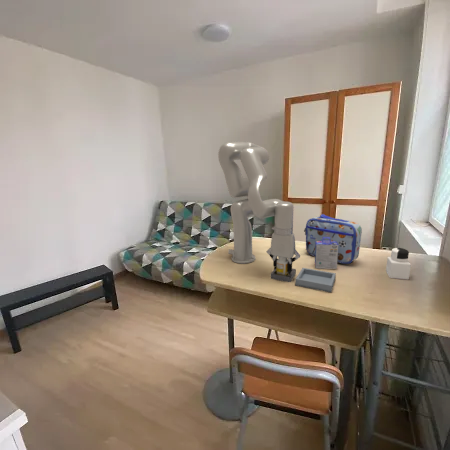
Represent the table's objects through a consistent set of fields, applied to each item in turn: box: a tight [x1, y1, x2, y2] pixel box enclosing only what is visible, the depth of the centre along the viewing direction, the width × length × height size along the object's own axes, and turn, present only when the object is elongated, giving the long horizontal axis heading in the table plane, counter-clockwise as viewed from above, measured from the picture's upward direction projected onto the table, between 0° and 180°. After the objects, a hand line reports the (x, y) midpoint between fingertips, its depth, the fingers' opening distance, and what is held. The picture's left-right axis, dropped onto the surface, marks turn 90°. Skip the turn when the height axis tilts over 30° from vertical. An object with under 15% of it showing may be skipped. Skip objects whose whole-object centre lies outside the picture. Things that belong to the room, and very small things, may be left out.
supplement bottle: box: [276, 256, 289, 276], centre depth 116 cm, size 5×5×10 cm
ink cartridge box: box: [314, 237, 338, 270], centre depth 123 cm, size 10×6×14 cm, turn 78°
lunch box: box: [303, 213, 363, 265], centre depth 132 cm, size 28×10×22 cm, turn 42°
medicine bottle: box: [385, 247, 412, 280], centre depth 112 cm, size 7×7×12 cm
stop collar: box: [269, 268, 297, 283], centre depth 117 cm, size 9×9×2 cm
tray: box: [295, 267, 337, 293], centre depth 110 cm, size 14×12×3 cm
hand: (282, 269), depth 117 cm, fingers closed on supplement bottle, 5 cm apart
